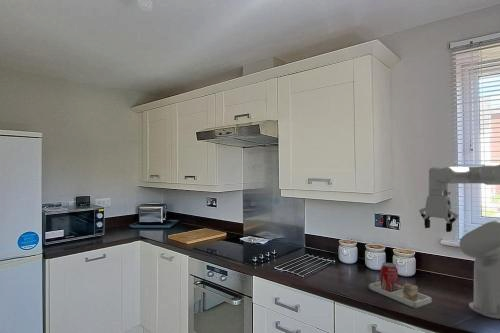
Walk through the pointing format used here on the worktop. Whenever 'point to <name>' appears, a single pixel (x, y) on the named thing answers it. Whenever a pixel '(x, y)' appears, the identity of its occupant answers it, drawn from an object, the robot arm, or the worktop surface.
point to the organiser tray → (401, 295)
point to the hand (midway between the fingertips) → (437, 229)
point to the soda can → (389, 277)
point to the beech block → (410, 292)
